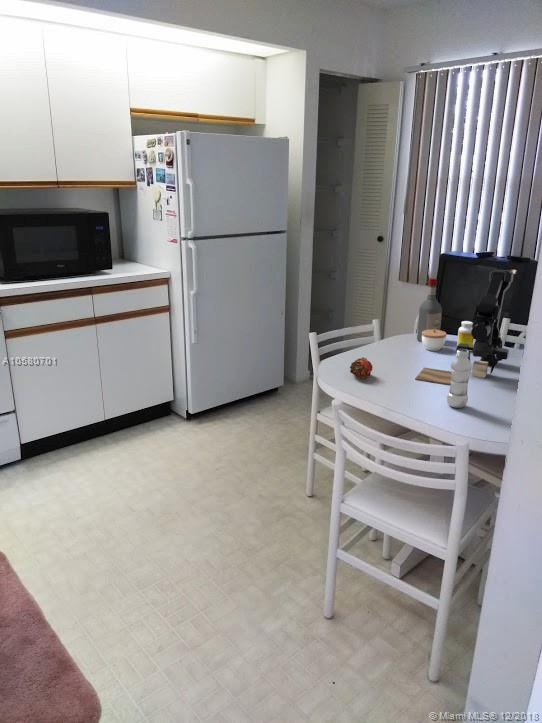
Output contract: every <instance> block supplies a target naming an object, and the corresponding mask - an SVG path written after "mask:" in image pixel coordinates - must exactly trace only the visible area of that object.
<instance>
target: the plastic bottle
mask: <svg viewBox="0 0 542 723" xmlns="http://www.w3.org/2000/svg"><path fill="white" fill-rule="evenodd" d="M455 355H456V357H455V358H454V360H452V362H451V364H450V371H451V385H449V392H448V395H447V397H446V399H447V401H446V402H447V404H448V406H450V407H452V408H455V409H462V408H465V407H466V406H467V404H468V401H469V397H468V388H469V387H468V386H469V385H468V384H469V381H470V380H469V378H470V374H471V373H472V368H473V364H472V363H471V359H470V360H469V359H468V357H469V351H468V350H466V349H458V350H457V353H455Z"/></svg>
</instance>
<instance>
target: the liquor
mask: <svg viewBox="0 0 542 723" xmlns="http://www.w3.org/2000/svg"><path fill="white" fill-rule="evenodd" d="M437 286H438V279H437V278H436V277H430V278H428V291H427V297H426V299H425V300H424V301H423V302H422V303H421V304H420V305H419V308H418V321H417V333H416V339H417V342H419V343H422V331H424V330H433V329H436V330H440V331H441V327H442V325H441V324H442V313H443V308H442V305H441V304H440V302H439V301H438V300H437V298H436V294H437Z"/></svg>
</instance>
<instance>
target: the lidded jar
mask: <svg viewBox="0 0 542 723" xmlns="http://www.w3.org/2000/svg"><path fill="white" fill-rule="evenodd" d="M446 340H447V332H446V331H444V330H441V329H440V330H436V329H433V330H424V331H422V342H421V343H422V345H423V347H424V348H425V350H427V351H431V352H439V351H440V350H441V349H442V348H443V347H444V345H445V343H446Z"/></svg>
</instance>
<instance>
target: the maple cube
mask: <svg viewBox="0 0 542 723" xmlns="http://www.w3.org/2000/svg"><path fill="white" fill-rule="evenodd" d="M488 367H489V365H488V362H484V361H480V360H476V359H475V360H474V361H473V363H472V368H471V377H479V378H486V377H487V375H488Z"/></svg>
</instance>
